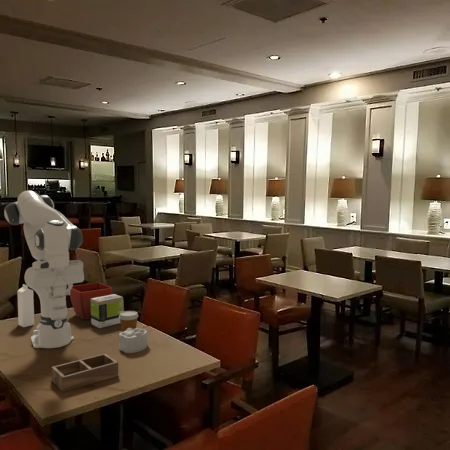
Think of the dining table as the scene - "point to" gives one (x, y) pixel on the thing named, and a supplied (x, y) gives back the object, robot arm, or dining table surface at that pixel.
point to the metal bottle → (58, 298)
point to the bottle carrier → (84, 372)
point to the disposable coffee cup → (128, 320)
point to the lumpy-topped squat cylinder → (133, 340)
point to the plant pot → (87, 297)
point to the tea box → (106, 310)
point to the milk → (25, 306)
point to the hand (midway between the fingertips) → (58, 296)
